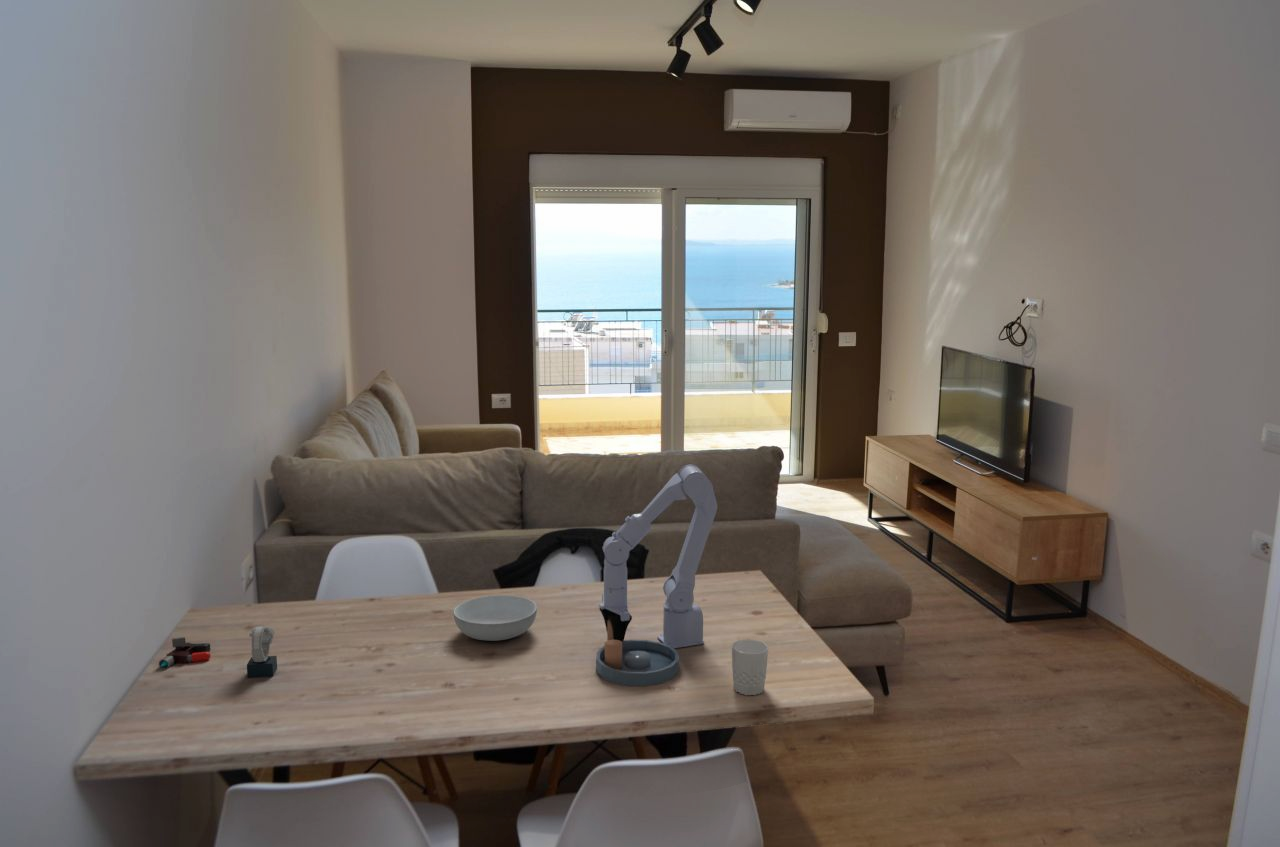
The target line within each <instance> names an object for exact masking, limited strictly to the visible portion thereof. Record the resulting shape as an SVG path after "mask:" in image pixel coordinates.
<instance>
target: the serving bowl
mask: <svg viewBox="0 0 1280 847" xmlns="http://www.w3.org/2000/svg"><path fill="white" fill-rule="evenodd" d="M537 612H538V605H537V604H536V602H534V601H533V600H531V599H529V598H528V597H527V598H526V597H524V596H519V595H511V594H495V595H484V596H479V597H475V598H470V599H468V600H465V601H463V602H461V603H459V604H458V605H456V606H455V608H454V609H453V614H452V615H453V619H454V622H455V624H456V625H455V626H456V627H457V628H458V629H459V631H460V632H461V633H463V634H464V635H465V636H467V637H470V638H471V639H474V640H479V641H489V642H492V641H496V642H497V641H505V640H509V639H512V638H515V637H518V636H520V635H523V634H524V633H525V632H527V631H528V630H530V628H531V627H532V625H533V624H534V622H535V620H536V618H537Z"/></svg>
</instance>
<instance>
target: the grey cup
mask: <svg viewBox="0 0 1280 847" xmlns="http://www.w3.org/2000/svg"><path fill="white" fill-rule="evenodd" d="M768 652H769V646H768V645H767V644H766V643H765V642H763V641H761V640H756V639H741V640H740V639H739V640H737V641H734V642H733V643H732V644H731V654H732V656H731V660H732V661H731V662H732V663H731V664H732V678H733V690H734V691H735V690H736V691H735V692H736V693H737V692H739V693H738V694H740V693H741V694H740V695H742V694H746V695H745V696H747V695H754V696H757V695H756V694H759V695H761V694H762V693H764V692H765V683H766V678H767V667H768V654H769V653H768ZM760 693H761V694H760Z"/></svg>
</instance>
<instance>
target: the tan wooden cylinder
mask: <svg viewBox="0 0 1280 847" xmlns="http://www.w3.org/2000/svg"><path fill="white" fill-rule="evenodd" d="M604 646H605V665H607V666H609V667H611V668H614V669H617V670H621V669H622V642H621V641H619V640H608V641H607V640H605V642H604Z"/></svg>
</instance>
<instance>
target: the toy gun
mask: <svg viewBox="0 0 1280 847" xmlns="http://www.w3.org/2000/svg"><path fill="white" fill-rule="evenodd" d="M171 641H172V643H171V644H172V648H173V650H171V651H169V652H168V653H166V656H164V657H162V658H161V659H160V660H159V661H158V666H159V668H160V669H163V668H164V667H166V669H169V668H170V667H171V666H173V665H174V664H183V665H184V664H185V665H187V664H188V663H189V662H192V663H196V662H198V663H199V662H205V661H209V660H210V659H211V653H210V651H211V644H210V642H209V643H208V642H204V643H201V642H200V643H191V642H186V637H185V636H182V637H174V638H173V637H172V638H171Z"/></svg>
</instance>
